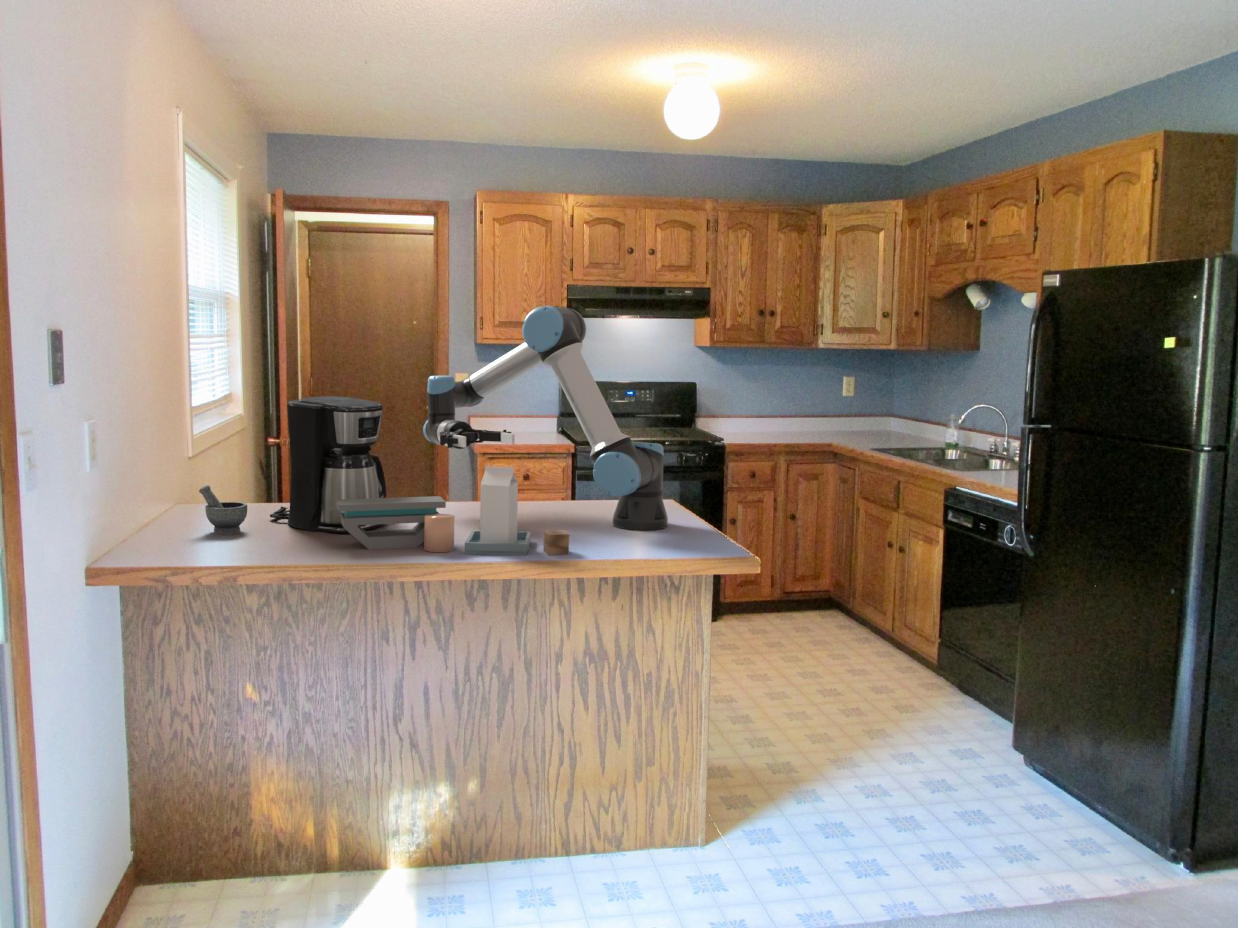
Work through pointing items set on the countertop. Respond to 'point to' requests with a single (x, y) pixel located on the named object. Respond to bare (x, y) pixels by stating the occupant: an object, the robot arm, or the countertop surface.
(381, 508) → the sharpening stone
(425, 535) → the peach round cylinder
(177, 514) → the countertop surface
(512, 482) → the milk carton
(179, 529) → the countertop surface
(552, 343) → the robot arm
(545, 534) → the walnut block
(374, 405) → the coffee maker
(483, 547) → the tray
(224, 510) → the mortar and pestle
